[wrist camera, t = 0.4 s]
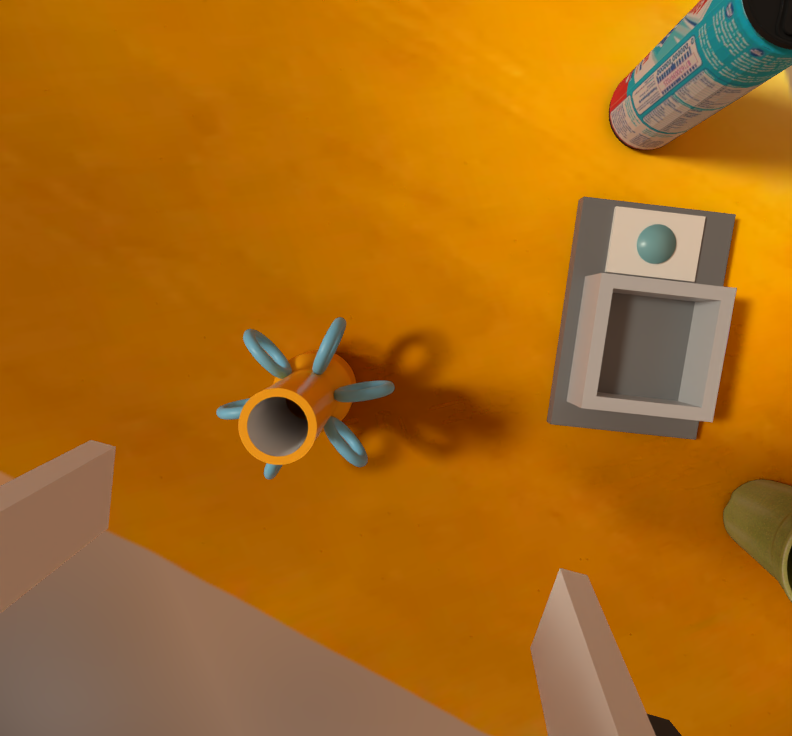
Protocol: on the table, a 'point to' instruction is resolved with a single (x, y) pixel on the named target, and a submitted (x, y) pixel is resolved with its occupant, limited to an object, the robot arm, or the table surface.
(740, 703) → the table surface
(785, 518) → the plant pot
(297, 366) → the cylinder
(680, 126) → the beverage can
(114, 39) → the table surface
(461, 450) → the table surface
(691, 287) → the can holder
